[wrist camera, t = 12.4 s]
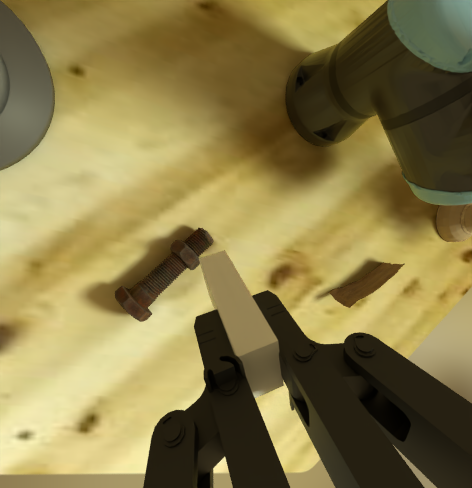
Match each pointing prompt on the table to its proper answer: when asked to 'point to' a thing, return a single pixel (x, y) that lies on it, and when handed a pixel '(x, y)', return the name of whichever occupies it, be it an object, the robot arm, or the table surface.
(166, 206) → the table surface
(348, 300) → the wood plank
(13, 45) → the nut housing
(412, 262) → the table surface
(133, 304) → the bolt
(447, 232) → the oil lamp
